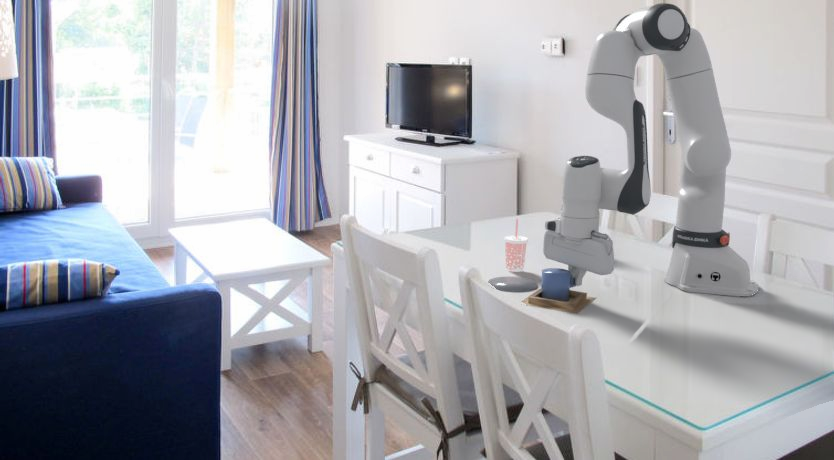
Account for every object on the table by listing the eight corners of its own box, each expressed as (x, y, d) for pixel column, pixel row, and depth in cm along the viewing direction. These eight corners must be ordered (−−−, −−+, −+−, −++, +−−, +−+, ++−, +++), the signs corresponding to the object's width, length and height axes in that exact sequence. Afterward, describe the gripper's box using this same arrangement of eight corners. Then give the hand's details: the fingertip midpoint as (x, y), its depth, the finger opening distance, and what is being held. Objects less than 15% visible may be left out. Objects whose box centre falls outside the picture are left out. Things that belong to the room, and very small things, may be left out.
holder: (595, 300, 208) (596, 292, 207) (577, 316, 196) (577, 307, 195) (539, 291, 214) (539, 283, 214) (518, 306, 202) (518, 297, 201)
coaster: (543, 284, 220) (544, 280, 219) (526, 296, 209) (526, 292, 209) (499, 277, 225) (499, 274, 225) (480, 289, 215) (480, 285, 214)
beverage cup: (517, 267, 236) (519, 216, 233) (531, 273, 230) (533, 220, 227) (498, 269, 233) (500, 217, 230) (511, 275, 227) (514, 222, 224)
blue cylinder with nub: (556, 304, 201) (557, 276, 200) (535, 298, 206) (536, 270, 205) (583, 297, 208) (584, 270, 206) (561, 291, 212) (563, 265, 211)
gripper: (622, 234, 197) (618, 293, 200) (559, 218, 214) (557, 273, 217) (602, 237, 194) (598, 297, 197) (540, 221, 211) (537, 277, 214)
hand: (576, 285), depth 207 cm, fingers closed
